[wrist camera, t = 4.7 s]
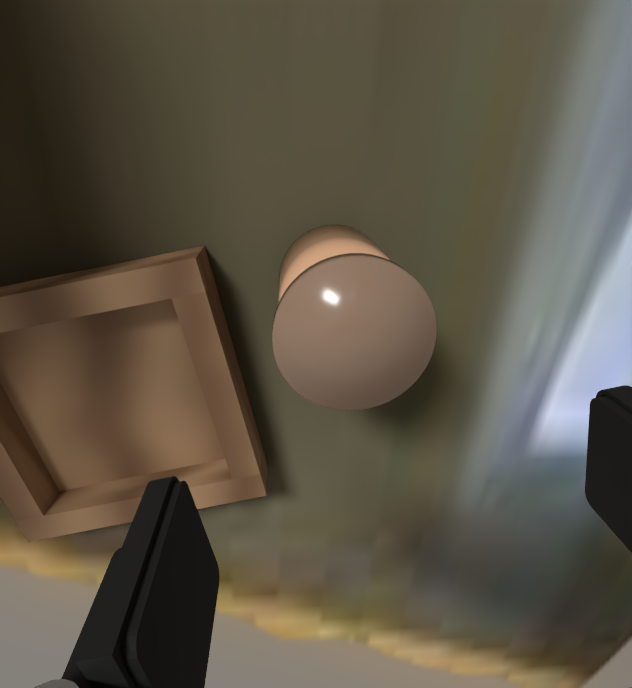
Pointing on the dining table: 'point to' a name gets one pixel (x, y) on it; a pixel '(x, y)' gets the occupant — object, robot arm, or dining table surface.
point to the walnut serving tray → (120, 395)
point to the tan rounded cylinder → (349, 321)
